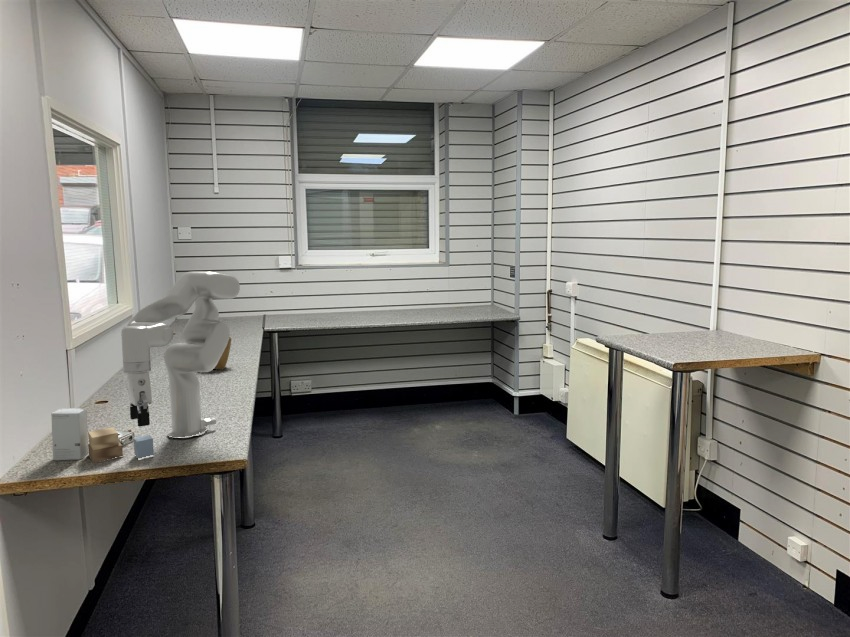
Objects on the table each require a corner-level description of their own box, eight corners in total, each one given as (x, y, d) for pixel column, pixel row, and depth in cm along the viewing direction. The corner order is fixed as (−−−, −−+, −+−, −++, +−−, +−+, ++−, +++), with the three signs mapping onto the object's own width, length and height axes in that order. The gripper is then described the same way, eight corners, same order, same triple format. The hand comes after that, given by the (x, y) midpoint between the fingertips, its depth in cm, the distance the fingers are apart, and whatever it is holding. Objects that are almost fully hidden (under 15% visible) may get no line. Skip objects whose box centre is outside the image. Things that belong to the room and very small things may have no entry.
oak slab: (114, 439, 188) (113, 427, 188) (118, 445, 183) (117, 432, 182) (89, 444, 184) (88, 431, 183) (93, 450, 178) (92, 437, 178)
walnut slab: (117, 450, 190) (116, 438, 189) (123, 457, 183) (122, 445, 183) (89, 456, 185) (88, 443, 184) (93, 463, 178) (92, 451, 178)
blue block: (150, 453, 186) (149, 434, 186) (154, 457, 183) (152, 438, 182) (134, 456, 184) (133, 437, 183) (138, 460, 180) (136, 441, 179)
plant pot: (227, 371, 298) (225, 340, 296) (197, 371, 298) (196, 340, 296) (236, 365, 313) (235, 335, 311) (208, 365, 313) (206, 335, 311)
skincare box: (53, 461, 180) (48, 413, 178) (62, 454, 186) (58, 408, 184) (82, 459, 181) (78, 412, 179) (91, 452, 187) (87, 406, 185)
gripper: (157, 369, 175) (160, 426, 176) (143, 361, 188) (146, 414, 190) (129, 372, 170) (133, 430, 172) (117, 364, 184) (120, 418, 185)
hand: (139, 422), depth 181 cm, fingers open, 9 cm apart
